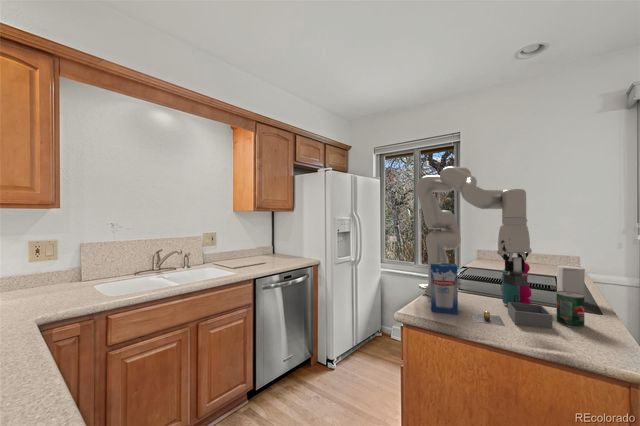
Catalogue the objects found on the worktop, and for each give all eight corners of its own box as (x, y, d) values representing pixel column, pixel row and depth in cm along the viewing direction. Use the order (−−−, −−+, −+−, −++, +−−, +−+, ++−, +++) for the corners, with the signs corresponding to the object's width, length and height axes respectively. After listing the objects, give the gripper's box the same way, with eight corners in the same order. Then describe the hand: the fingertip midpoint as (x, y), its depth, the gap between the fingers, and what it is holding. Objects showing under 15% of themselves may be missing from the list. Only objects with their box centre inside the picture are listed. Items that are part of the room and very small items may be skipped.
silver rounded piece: (503, 283, 109) (502, 256, 109) (515, 282, 110) (514, 256, 110) (515, 286, 104) (514, 258, 104) (527, 285, 105) (526, 257, 105)
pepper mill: (525, 299, 133) (525, 257, 133) (535, 305, 126) (535, 259, 126) (508, 299, 134) (508, 257, 134) (518, 304, 127) (517, 259, 126)
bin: (514, 326, 103) (514, 311, 103) (507, 316, 114) (507, 302, 114) (552, 331, 99) (552, 315, 99) (541, 319, 109) (541, 305, 109)
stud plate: (473, 324, 106) (473, 314, 106) (470, 314, 116) (470, 305, 116) (505, 328, 102) (505, 317, 102) (499, 318, 112) (499, 308, 112)
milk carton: (431, 313, 117) (430, 265, 117) (430, 308, 123) (430, 262, 123) (458, 316, 114) (457, 266, 114) (456, 311, 120) (456, 263, 119)
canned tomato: (587, 329, 100) (587, 298, 100) (558, 325, 104) (558, 295, 104) (581, 321, 107) (581, 292, 107) (554, 317, 111) (554, 289, 111)
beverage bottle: (514, 310, 119) (514, 263, 119) (498, 306, 125) (498, 260, 125) (523, 308, 122) (523, 261, 122) (507, 303, 128) (507, 259, 128)
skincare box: (561, 301, 130) (561, 267, 129) (556, 297, 136) (556, 264, 136) (585, 303, 127) (585, 268, 126) (578, 299, 133) (578, 266, 132)
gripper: (524, 221, 112) (524, 268, 112) (486, 222, 109) (487, 270, 109) (542, 222, 105) (543, 271, 105) (502, 223, 101) (503, 274, 102)
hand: (514, 270), depth 107 cm, fingers closed on silver rounded piece, 4 cm apart
